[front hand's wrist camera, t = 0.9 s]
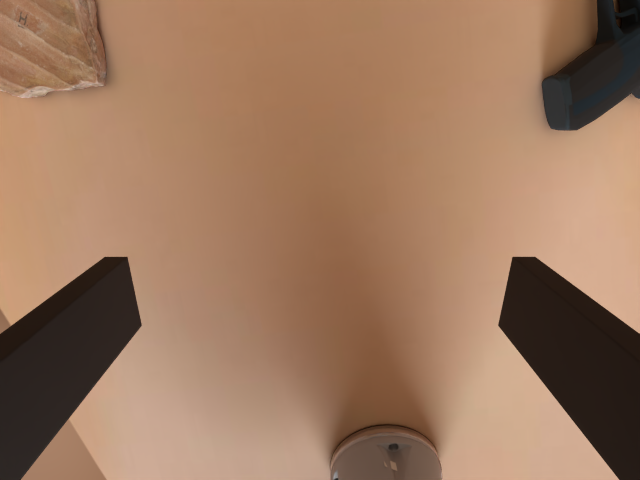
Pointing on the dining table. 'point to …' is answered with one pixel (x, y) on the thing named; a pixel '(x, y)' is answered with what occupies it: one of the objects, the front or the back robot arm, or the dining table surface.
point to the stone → (49, 47)
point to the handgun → (597, 71)
